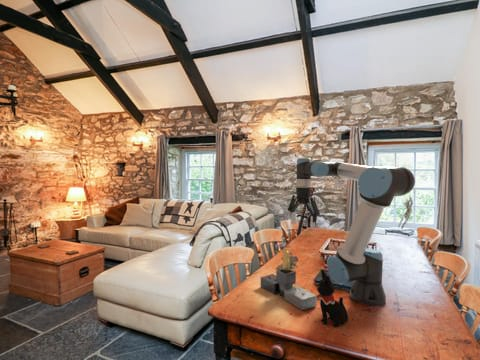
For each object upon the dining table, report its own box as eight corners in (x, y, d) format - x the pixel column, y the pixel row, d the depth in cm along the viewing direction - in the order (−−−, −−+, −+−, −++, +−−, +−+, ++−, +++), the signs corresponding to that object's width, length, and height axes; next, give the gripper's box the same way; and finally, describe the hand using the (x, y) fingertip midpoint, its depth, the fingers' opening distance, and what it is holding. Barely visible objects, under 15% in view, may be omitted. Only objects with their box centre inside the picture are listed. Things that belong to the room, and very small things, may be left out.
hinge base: (296, 295, 135) (296, 271, 135) (284, 299, 130) (285, 275, 130) (272, 283, 149) (272, 261, 148) (260, 287, 144) (260, 264, 143)
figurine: (313, 317, 115) (313, 268, 114) (344, 316, 116) (345, 268, 115) (320, 328, 107) (321, 276, 106) (353, 327, 109) (354, 275, 108)
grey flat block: (316, 305, 124) (316, 295, 124) (302, 310, 120) (302, 299, 120) (297, 295, 134) (297, 285, 134) (284, 299, 130) (284, 288, 130)
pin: (290, 280, 135) (290, 251, 134) (286, 282, 133) (286, 252, 132) (285, 278, 137) (286, 249, 136) (281, 280, 135) (281, 251, 135)
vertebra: (292, 272, 159) (285, 254, 161) (277, 275, 166) (271, 258, 168) (308, 263, 175) (302, 247, 177) (294, 266, 181) (289, 251, 184)
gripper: (327, 188, 146) (326, 229, 147) (290, 185, 165) (290, 221, 166) (318, 188, 141) (317, 231, 142) (281, 185, 161) (281, 223, 162)
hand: (302, 226), depth 154 cm, fingers open, 13 cm apart
